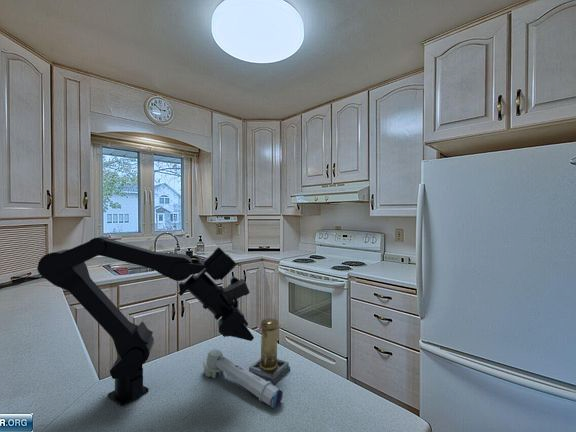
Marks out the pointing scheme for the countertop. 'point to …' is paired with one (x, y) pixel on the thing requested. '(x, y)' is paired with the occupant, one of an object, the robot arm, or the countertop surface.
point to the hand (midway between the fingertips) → (249, 331)
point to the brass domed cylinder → (269, 345)
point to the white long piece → (242, 377)
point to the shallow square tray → (274, 377)
